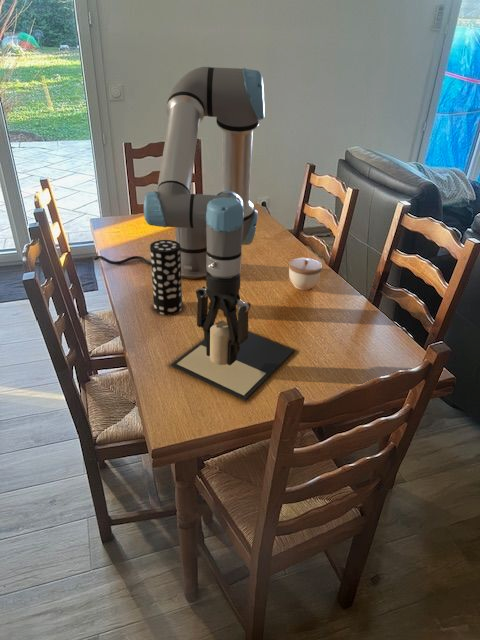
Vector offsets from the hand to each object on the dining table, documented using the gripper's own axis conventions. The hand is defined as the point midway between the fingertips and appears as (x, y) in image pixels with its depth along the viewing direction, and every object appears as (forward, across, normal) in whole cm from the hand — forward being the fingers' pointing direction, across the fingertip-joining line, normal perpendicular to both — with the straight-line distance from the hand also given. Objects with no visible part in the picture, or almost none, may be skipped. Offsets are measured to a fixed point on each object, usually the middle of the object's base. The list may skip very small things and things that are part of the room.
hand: (221, 357), depth 114 cm
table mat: (+4, 0, +6) cm, 7 cm away
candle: (+1, 0, 0) cm, 1 cm away
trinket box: (+4, -4, +53) cm, 53 cm away
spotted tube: (+4, -30, +15) cm, 34 cm away
